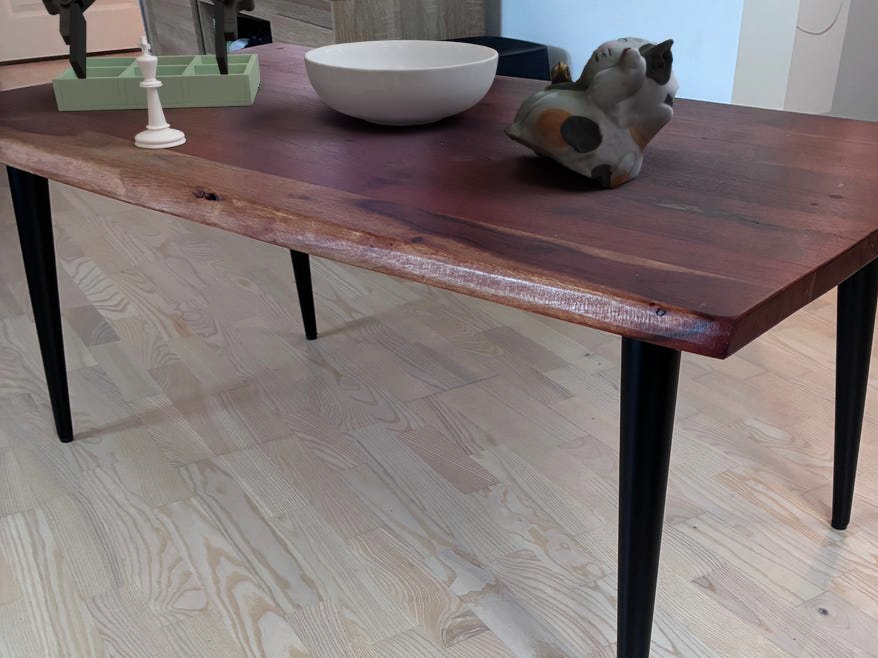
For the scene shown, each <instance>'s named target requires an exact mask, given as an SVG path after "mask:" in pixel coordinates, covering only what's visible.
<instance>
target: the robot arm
mask: <svg viewBox="0 0 878 658" xmlns="http://www.w3.org/2000/svg"><path fill="white" fill-rule="evenodd" d="M96 1H97V0H41V2H42V4H43V6H44V7H45V10H46V11H47V13H48V15H50V16H57V15H59V20H58V21H59V23H58V25H59V26H58V27H59V30H58V31H59V34H60V36H61V38H62V40H63V42H64V44H65V46H69V50H68V51H69V55H68V56H69V57H68V60H69V64H70V66H72V68H73V70H74V72H75V74H76V75H77V77H78V79H86V58H87V38H88V37H87V35H88V32H87V29H88V27H87V23H88V22H87V20H86V17H85V16H84V13H85V12H86V11H87V10H88V9H89V8H90V7H91V6H92V5H93V4H94V3H95V2H96ZM209 1H210V2H211V3H212V4H213V19H214V21H213V23H214V47H215V48H214V49H215V55H216V60H217V64H218V68H219V71H220V75H228V57H227V55H228V42H237V39H238V37H239V36H238V15H239V13H240V12H243V11H245V12H252V11H254V10H255V7H256V5H255V0H209Z"/></svg>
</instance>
